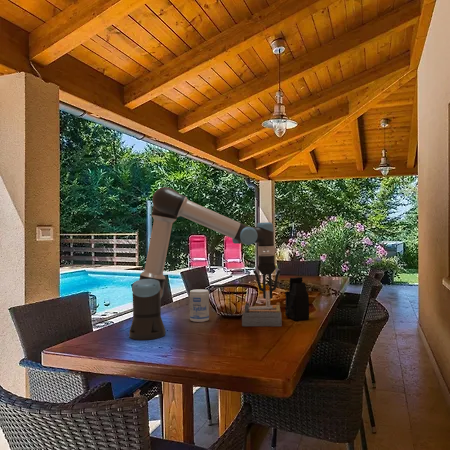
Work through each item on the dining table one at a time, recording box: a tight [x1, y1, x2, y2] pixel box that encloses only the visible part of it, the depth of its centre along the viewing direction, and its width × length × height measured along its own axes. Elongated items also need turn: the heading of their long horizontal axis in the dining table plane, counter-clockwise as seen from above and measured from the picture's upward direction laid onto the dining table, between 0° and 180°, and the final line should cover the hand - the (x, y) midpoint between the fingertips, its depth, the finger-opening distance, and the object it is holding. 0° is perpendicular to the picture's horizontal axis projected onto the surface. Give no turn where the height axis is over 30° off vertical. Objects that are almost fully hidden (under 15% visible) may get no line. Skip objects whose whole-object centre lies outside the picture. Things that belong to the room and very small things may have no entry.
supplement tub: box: [189, 288, 210, 323], centre depth 208 cm, size 10×10×15 cm
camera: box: [284, 277, 310, 322], centre depth 208 cm, size 10×14×20 cm
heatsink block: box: [241, 302, 283, 327], centre depth 199 cm, size 18×12×9 cm, turn 83°
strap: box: [248, 304, 276, 310], centre depth 199 cm, size 16×4×1 cm, turn 83°
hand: (268, 305), depth 198 cm, fingers closed
